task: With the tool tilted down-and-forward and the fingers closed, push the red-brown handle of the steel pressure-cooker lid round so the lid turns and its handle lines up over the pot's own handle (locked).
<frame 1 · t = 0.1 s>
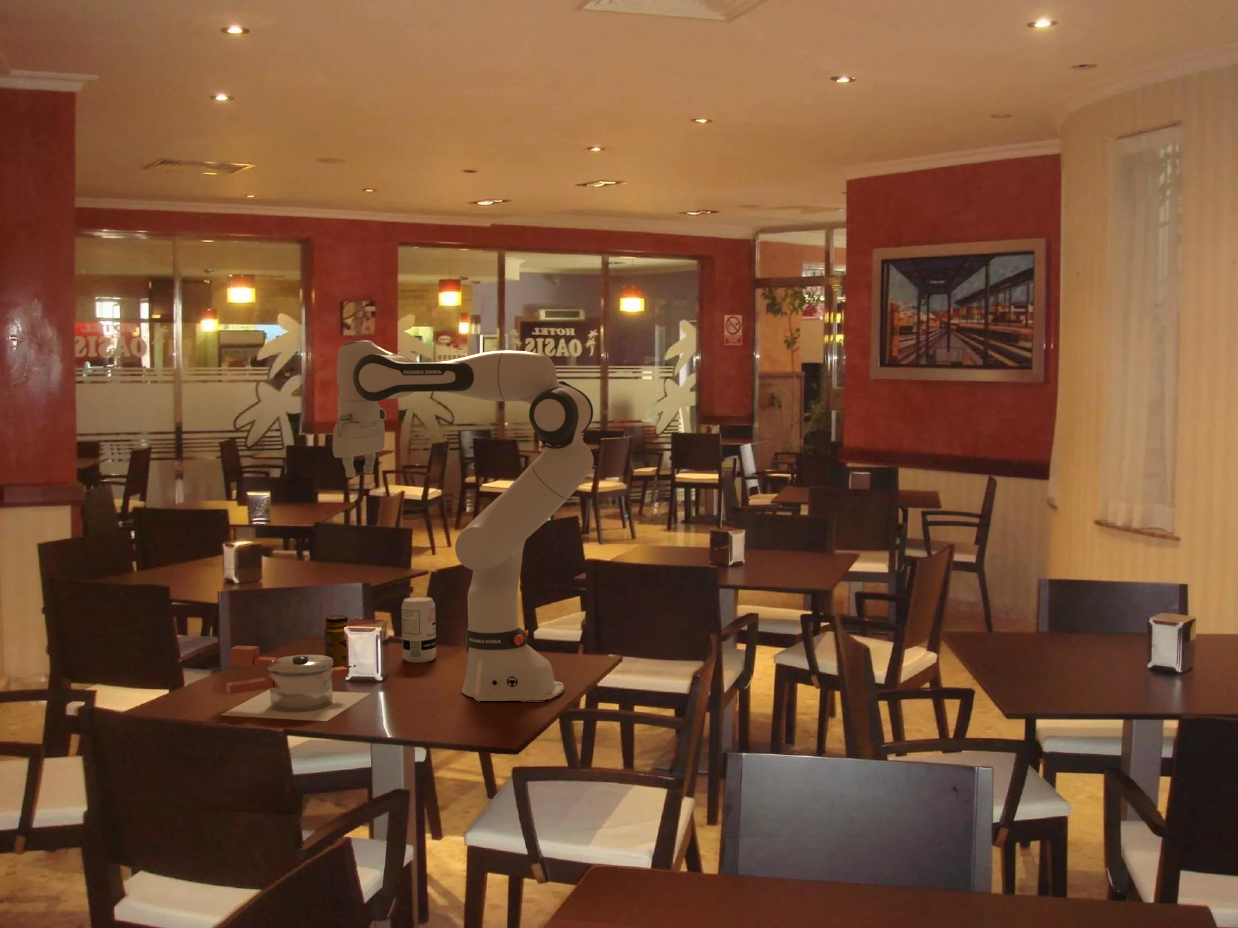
hand: (359, 475, 287), 48 cm above the table, tool pointing down, fingers open, 8 cm apart
cooker: (301, 703, 274), resting on mat
mat: (297, 705, 274), on the table
supplement can: (419, 659, 316), on the table
lid: (281, 657, 274), point 10 cm above the table, hinge at 0.0°
condiment: (334, 666, 310), on the table
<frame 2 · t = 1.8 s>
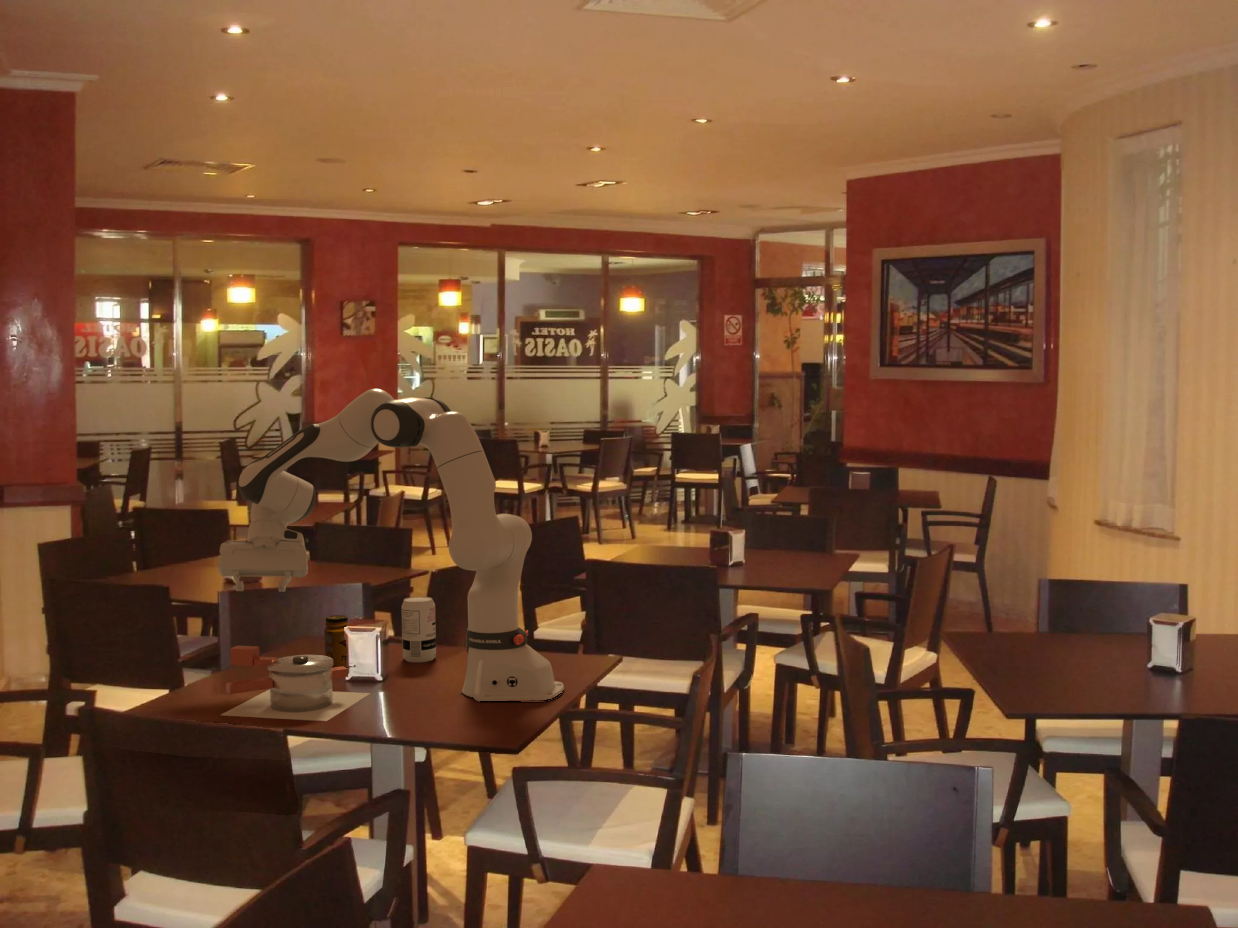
hand: (260, 589, 294), 21 cm above the table, tool tilted 45°, fingers open, 8 cm apart
nothing on the table moved.
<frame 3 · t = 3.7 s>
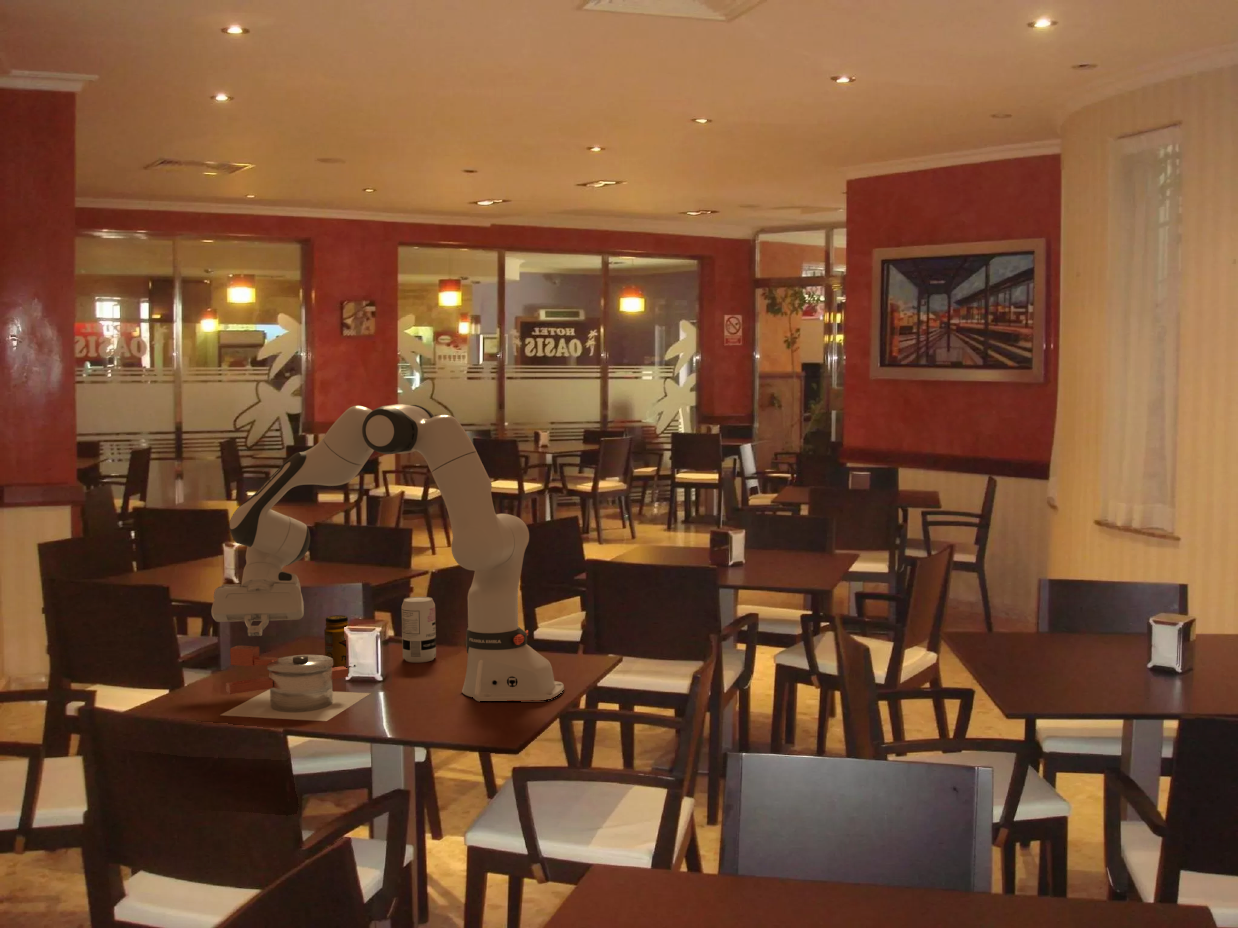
hand: (254, 634, 287), 13 cm above the table, tool tilted 45°, fingers closed
nothing on the table moved.
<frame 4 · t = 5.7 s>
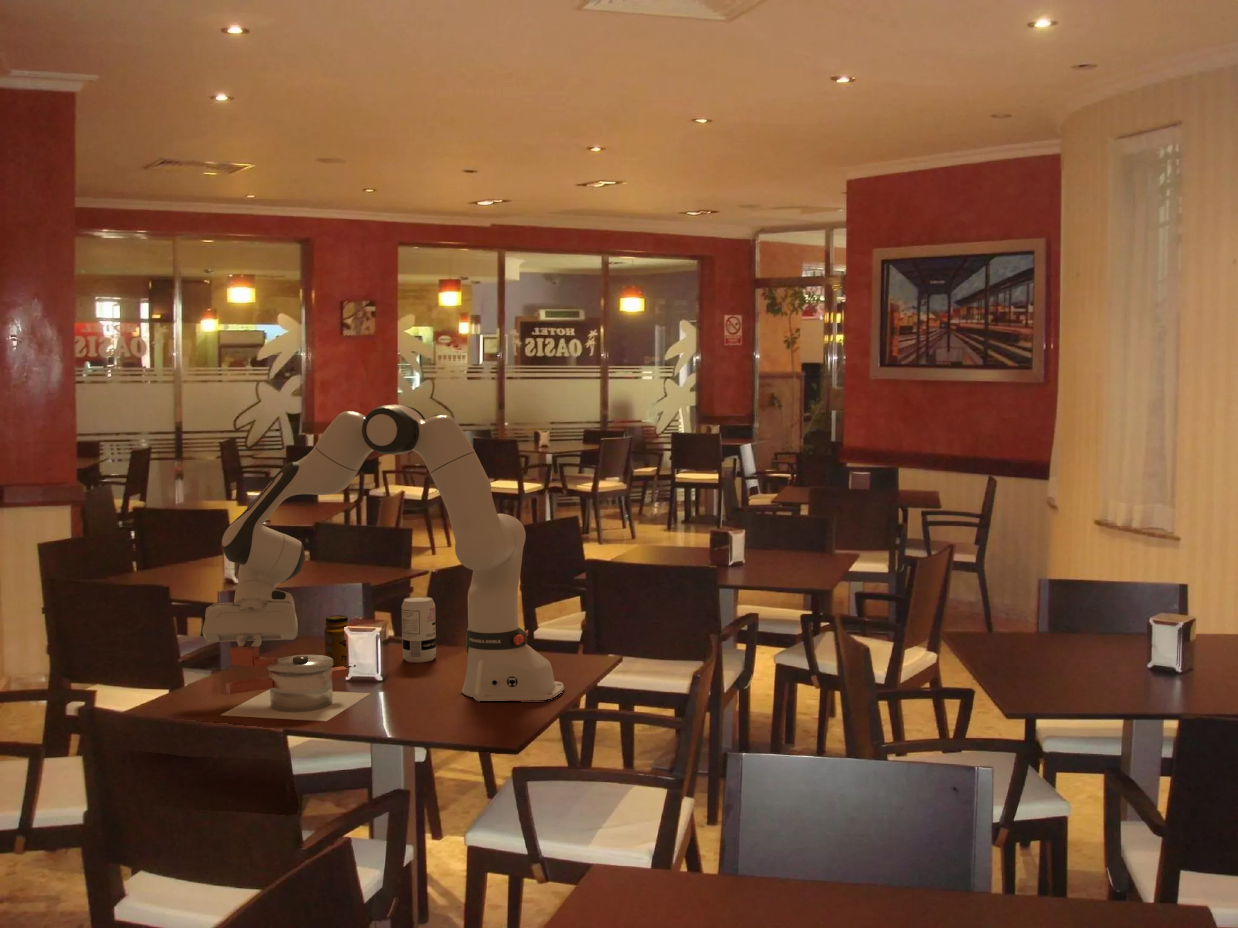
hand: (247, 655, 278), 10 cm above the table, tool tilted 45°, fingers closed
lid: (281, 657, 274), point 10 cm above the table, hinge at 0.3°, touching gripper
everything else where it was.
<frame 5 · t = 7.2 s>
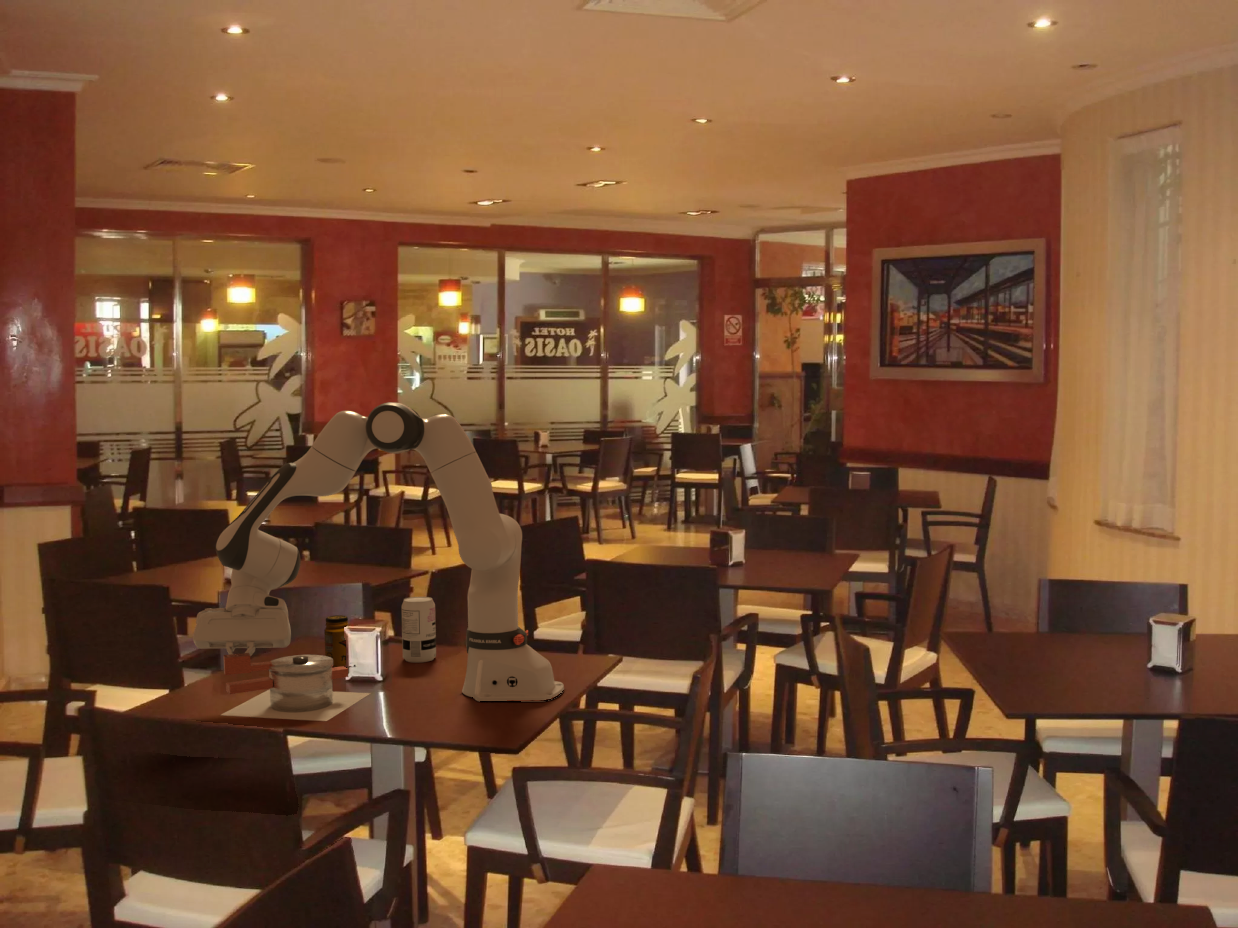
hand: (238, 663, 271), 10 cm above the table, tool tilted 45°, fingers closed
lid: (279, 660, 272), point 10 cm above the table, hinge at 33.1°, touching gripper
everything else where it was.
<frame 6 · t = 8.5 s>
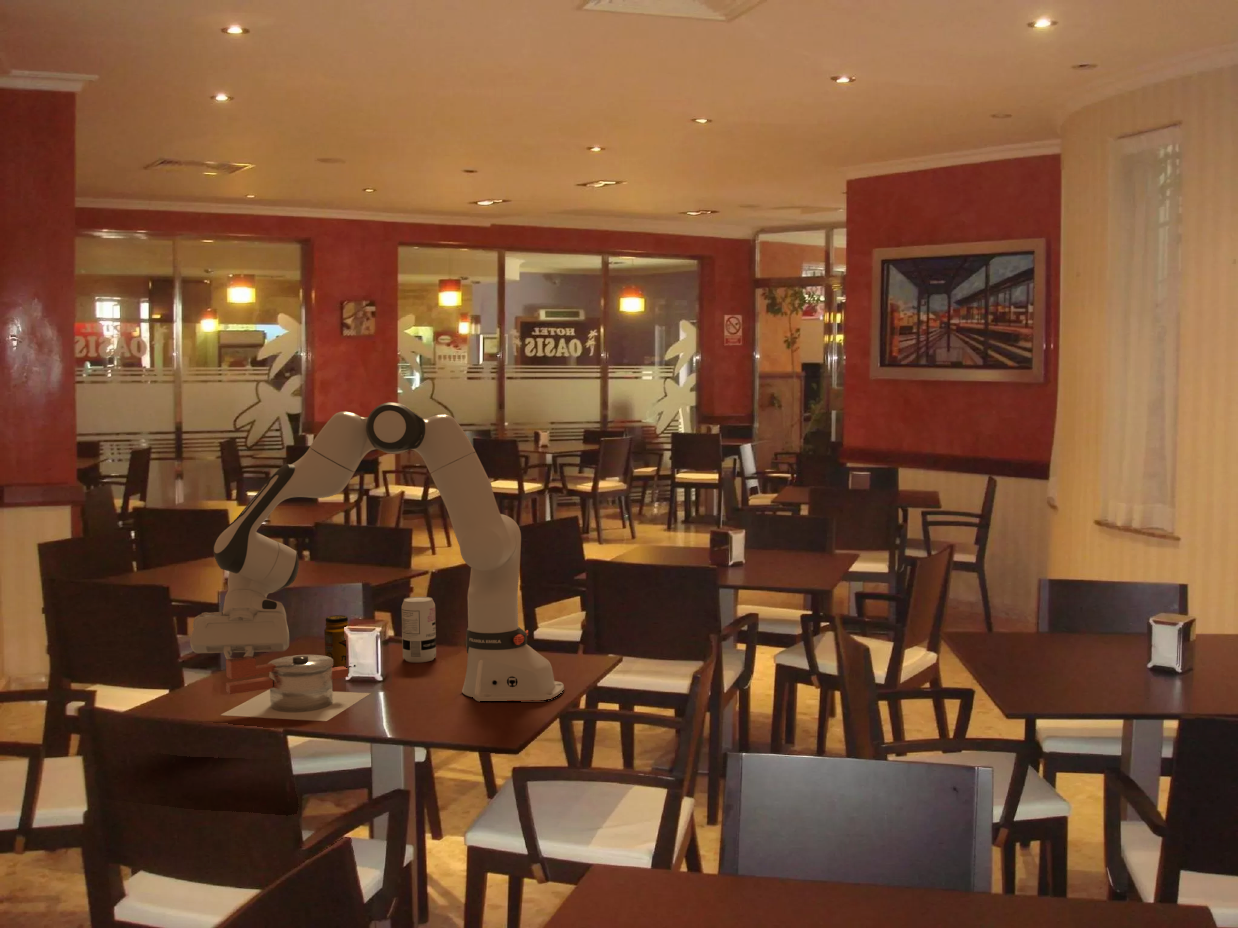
hand: (236, 667, 268), 10 cm above the table, tool tilted 45°, fingers closed
lid: (280, 661, 270), point 10 cm above the table, hinge at 49.7°, touching gripper
everything else where it was.
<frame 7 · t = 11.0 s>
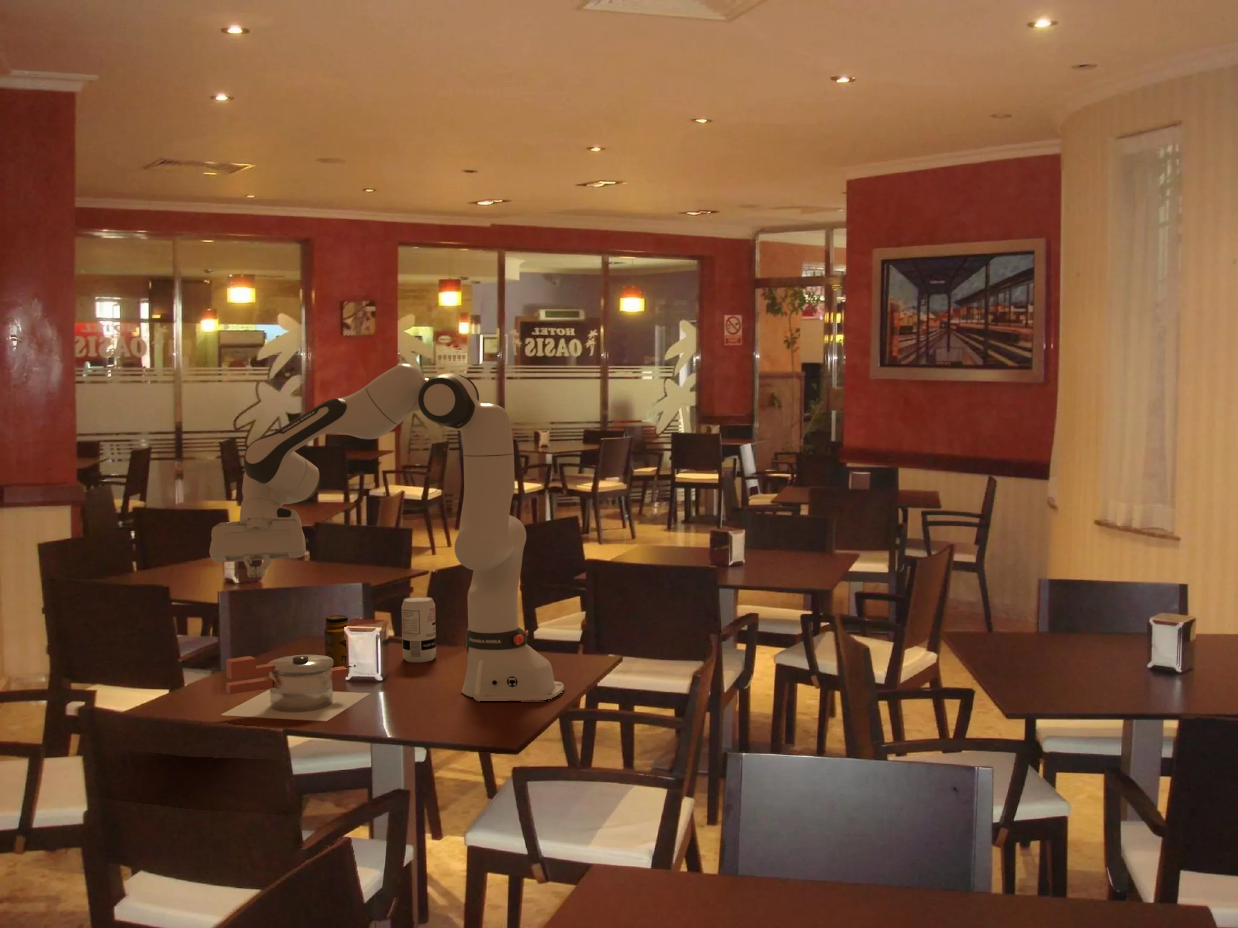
hand: (255, 575, 275), 28 cm above the table, tool tilted 40°, fingers closed
lid: (280, 661, 270), point 10 cm above the table, hinge at 49.8°
everything else where it was.
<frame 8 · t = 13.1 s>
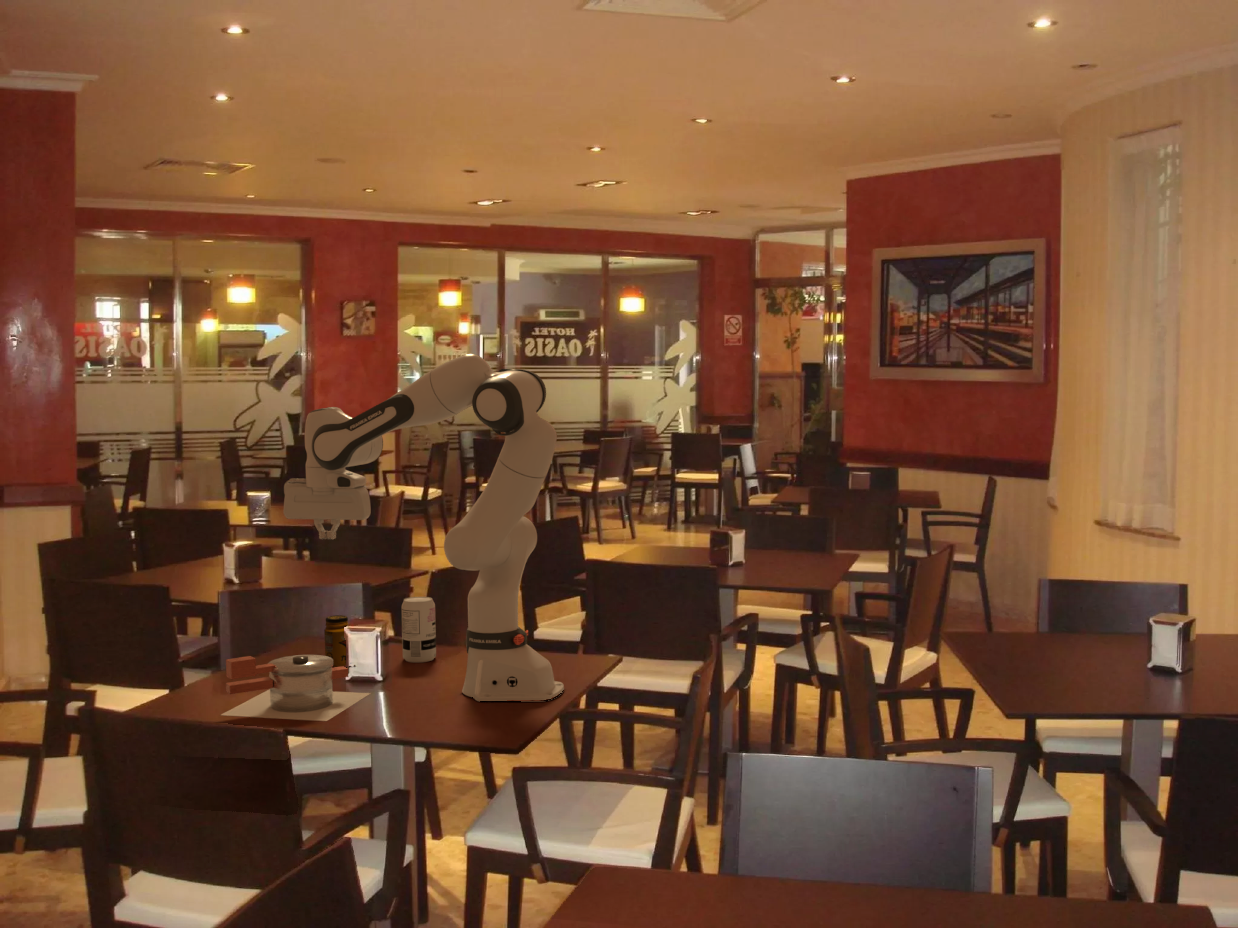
hand: (327, 538, 292), 33 cm above the table, tool pointing down, fingers closed
nothing on the table moved.
at the end: lid at +50° (first picture: +0°) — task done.
